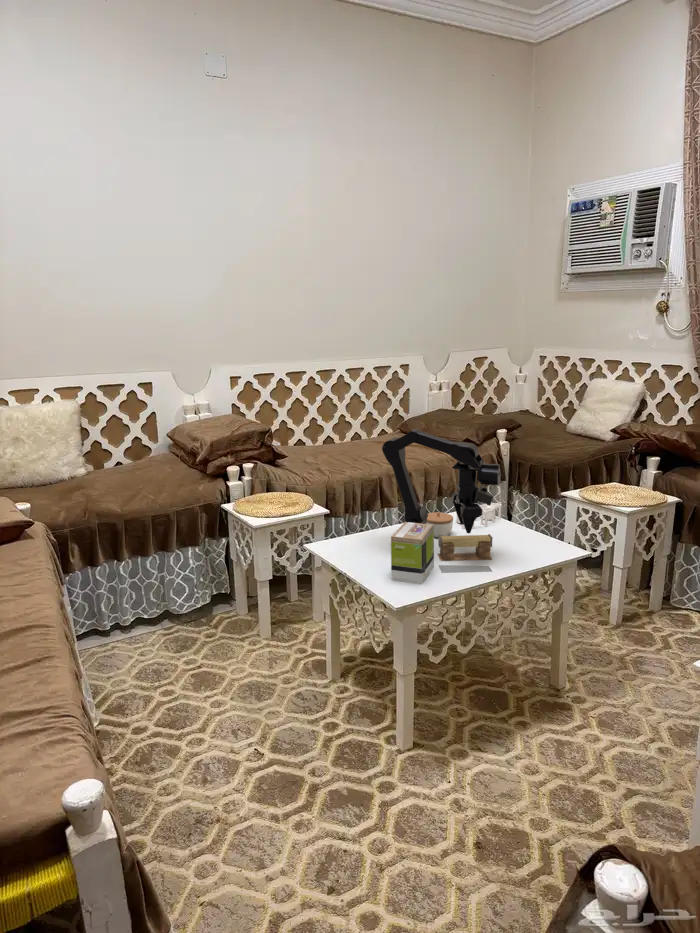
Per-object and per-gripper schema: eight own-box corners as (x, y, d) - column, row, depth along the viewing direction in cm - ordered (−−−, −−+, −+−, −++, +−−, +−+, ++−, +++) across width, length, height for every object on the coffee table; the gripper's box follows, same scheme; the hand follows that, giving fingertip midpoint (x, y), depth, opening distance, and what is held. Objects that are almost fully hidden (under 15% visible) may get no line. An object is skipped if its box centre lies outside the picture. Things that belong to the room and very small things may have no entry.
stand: (440, 562, 213) (441, 544, 211) (437, 555, 218) (438, 538, 217) (492, 561, 213) (493, 543, 212) (487, 554, 219) (488, 537, 218)
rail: (440, 548, 213) (440, 538, 212) (438, 545, 216) (438, 535, 215) (492, 547, 214) (492, 537, 213) (489, 543, 217) (489, 534, 216)
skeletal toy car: (492, 518, 259) (493, 500, 257) (509, 526, 249) (510, 507, 247) (449, 525, 250) (450, 507, 249) (466, 533, 241) (466, 514, 239)
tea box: (404, 563, 212) (405, 520, 209) (434, 567, 208) (435, 523, 205) (390, 581, 198) (390, 535, 195) (422, 585, 195) (423, 538, 191)
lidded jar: (424, 541, 232) (424, 516, 230) (422, 532, 242) (422, 508, 240) (454, 542, 232) (455, 516, 229) (450, 532, 242) (451, 508, 240)
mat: (441, 573, 203) (441, 572, 203) (437, 565, 210) (437, 564, 210) (492, 572, 204) (492, 571, 204) (486, 564, 211) (486, 562, 211)
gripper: (499, 489, 201) (497, 537, 205) (484, 475, 219) (482, 519, 223) (464, 490, 201) (462, 538, 204) (451, 475, 219) (450, 520, 222)
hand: (465, 528), depth 214 cm, fingers open, 9 cm apart
